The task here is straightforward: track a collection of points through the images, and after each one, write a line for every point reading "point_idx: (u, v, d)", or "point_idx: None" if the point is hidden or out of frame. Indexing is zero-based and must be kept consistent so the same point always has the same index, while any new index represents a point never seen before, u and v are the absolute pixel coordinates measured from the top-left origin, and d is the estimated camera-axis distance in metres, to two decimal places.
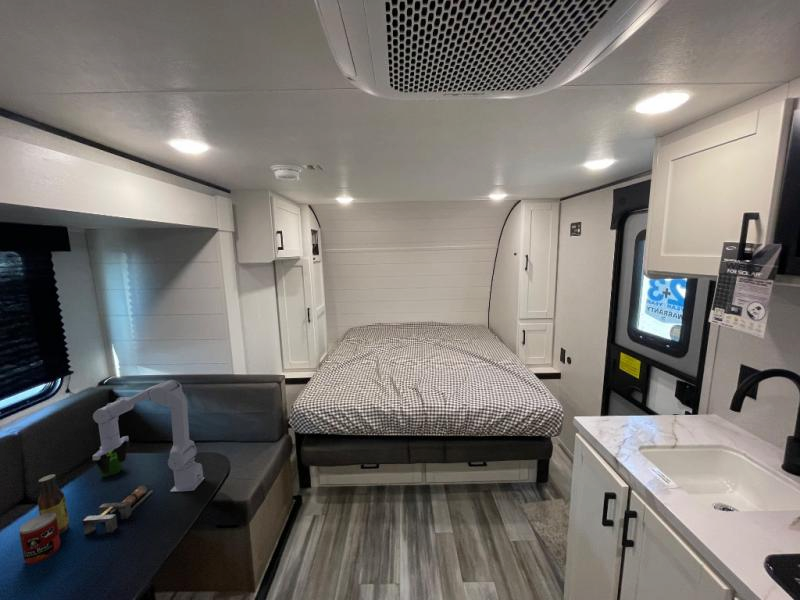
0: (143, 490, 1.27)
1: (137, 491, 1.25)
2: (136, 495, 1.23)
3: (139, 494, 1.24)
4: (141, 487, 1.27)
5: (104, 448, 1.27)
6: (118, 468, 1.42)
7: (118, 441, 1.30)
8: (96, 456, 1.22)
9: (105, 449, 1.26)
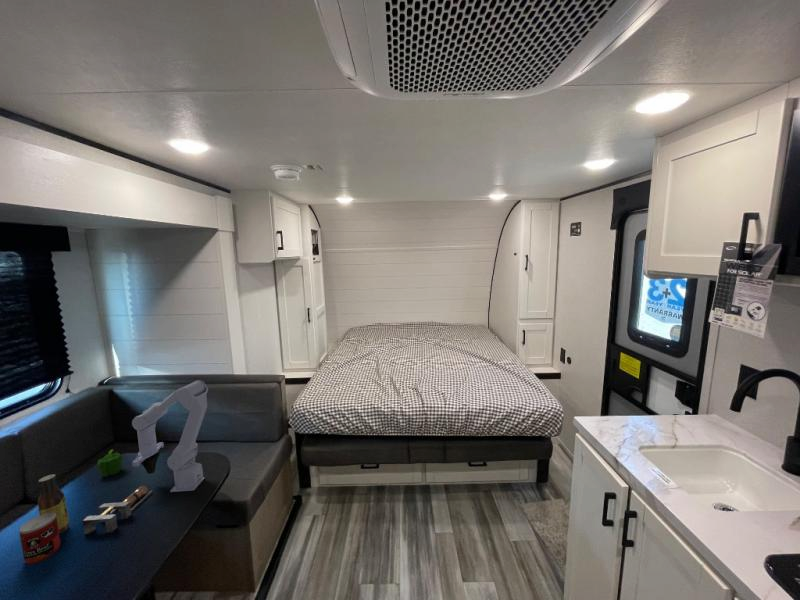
0: (144, 491, 1.27)
1: (139, 492, 1.25)
2: (137, 496, 1.23)
3: (140, 495, 1.24)
4: (143, 487, 1.27)
5: (142, 454, 1.29)
6: (118, 468, 1.42)
7: (155, 447, 1.32)
8: (136, 462, 1.25)
9: (143, 455, 1.29)
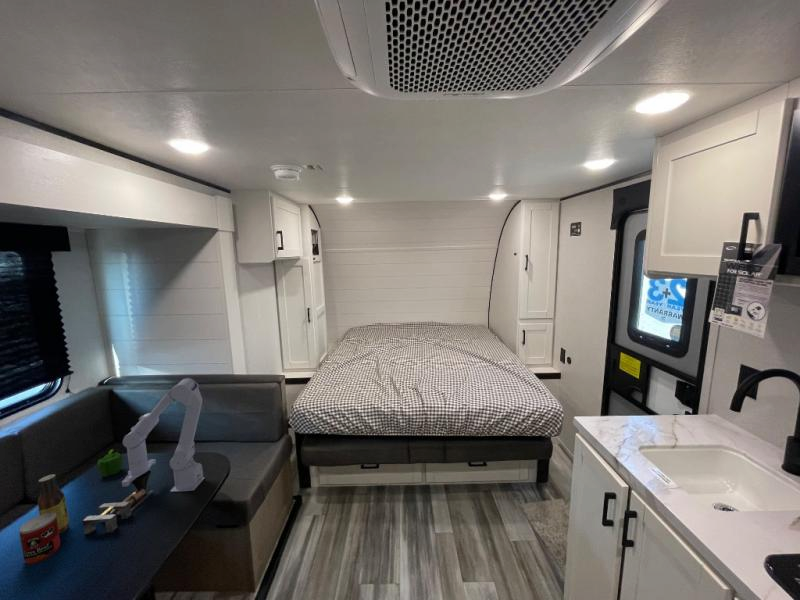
0: (142, 494, 1.25)
1: (137, 494, 1.23)
2: (135, 499, 1.22)
3: (138, 498, 1.23)
4: (141, 490, 1.26)
5: (133, 473, 1.24)
6: (118, 468, 1.42)
7: (146, 465, 1.27)
8: (125, 482, 1.20)
9: (134, 474, 1.24)
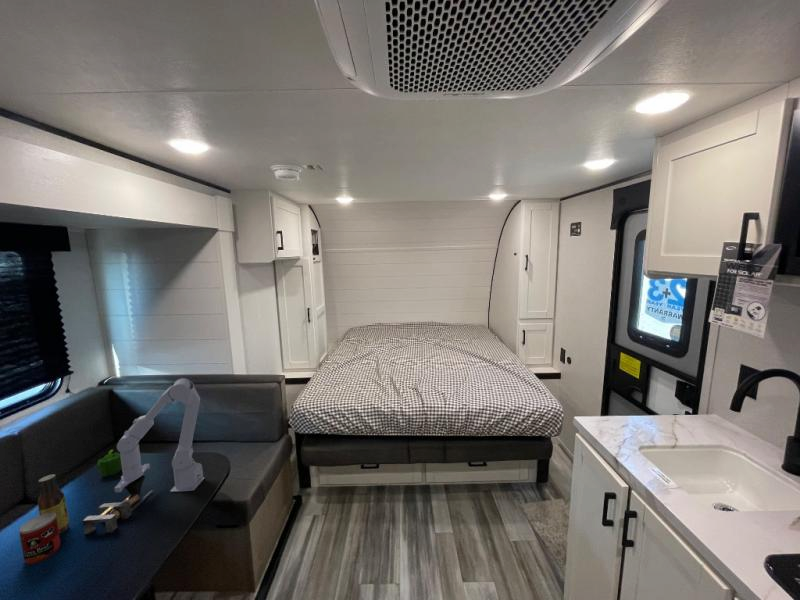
0: (136, 499, 1.22)
1: (130, 500, 1.20)
2: None
3: (131, 504, 1.20)
4: (134, 495, 1.22)
5: (126, 478, 1.21)
6: (118, 468, 1.42)
7: (140, 470, 1.24)
8: (118, 488, 1.17)
9: (127, 480, 1.21)
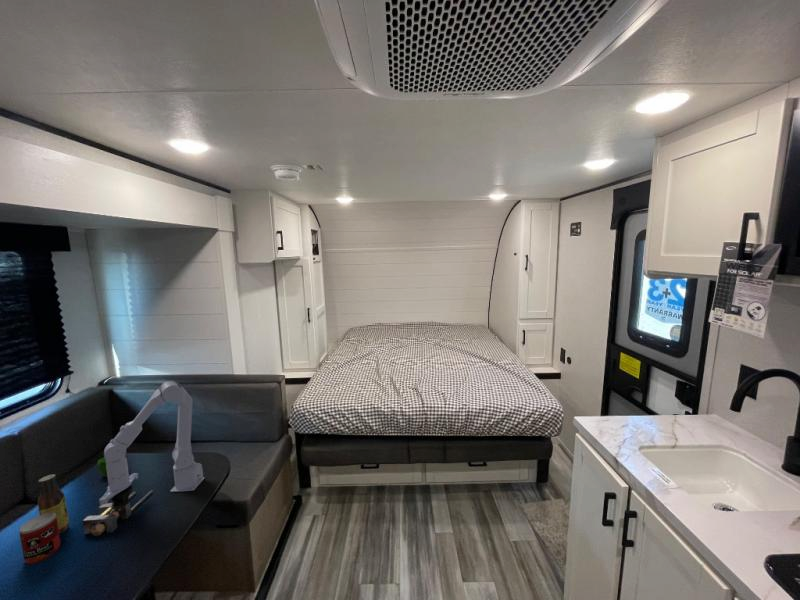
0: None
1: (116, 512, 1.14)
2: None
3: (117, 516, 1.14)
4: None
5: (112, 489, 1.15)
6: None
7: (127, 481, 1.18)
8: (103, 500, 1.11)
9: (113, 491, 1.15)
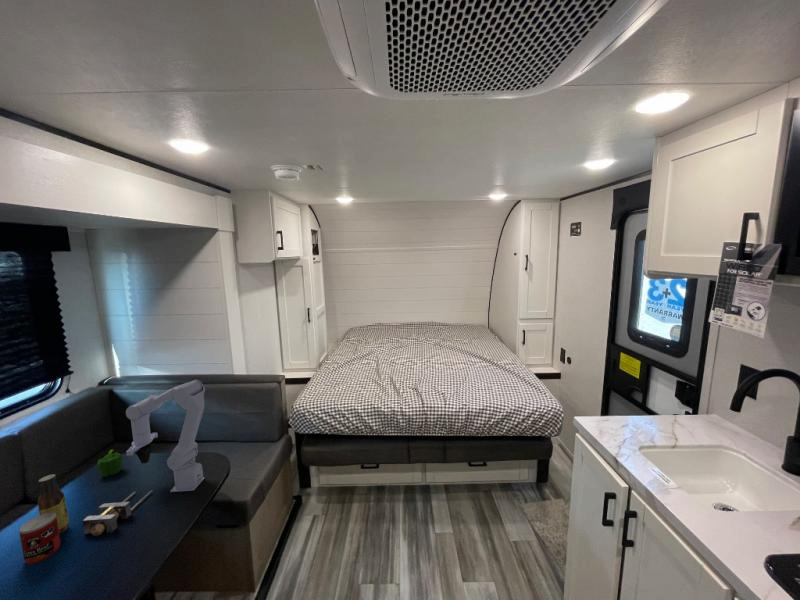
0: None
1: (116, 512, 1.14)
2: None
3: (117, 516, 1.14)
4: None
5: (136, 444, 1.30)
6: (118, 468, 1.42)
7: (149, 437, 1.33)
8: (130, 452, 1.26)
9: (137, 445, 1.30)
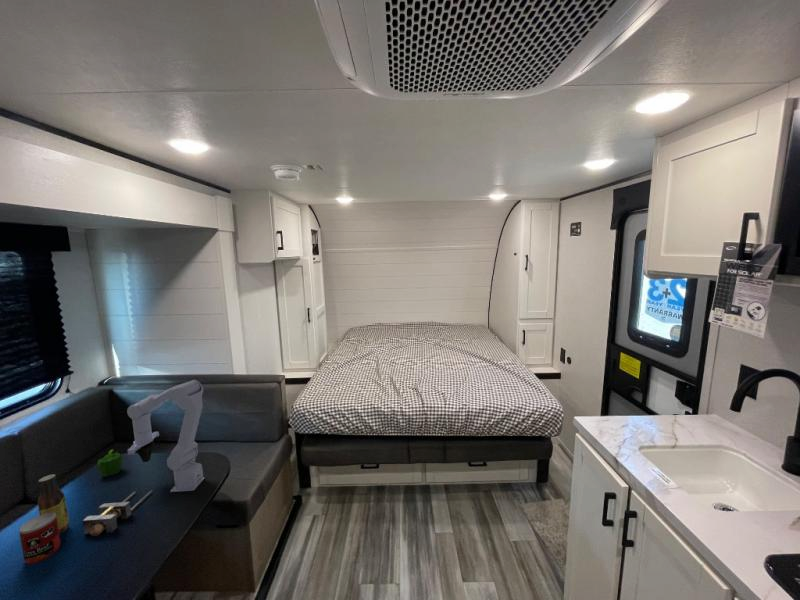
0: None
1: (114, 512, 1.14)
2: None
3: (116, 515, 1.14)
4: None
5: (138, 443, 1.31)
6: (118, 468, 1.42)
7: (150, 436, 1.34)
8: (131, 450, 1.27)
9: (139, 444, 1.31)
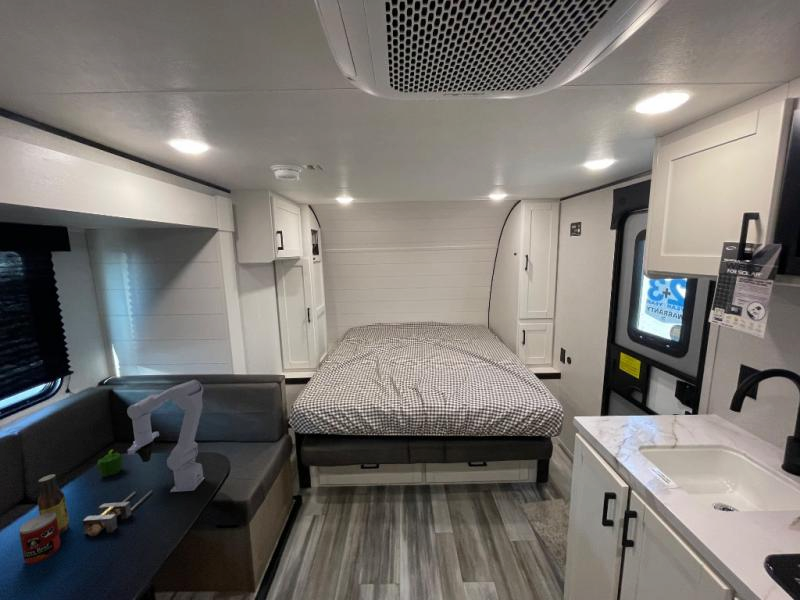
0: (117, 509, 1.16)
1: None
2: None
3: (112, 513, 1.14)
4: None
5: (138, 443, 1.31)
6: (118, 468, 1.42)
7: (150, 436, 1.34)
8: (131, 450, 1.27)
9: (139, 444, 1.31)
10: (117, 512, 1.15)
